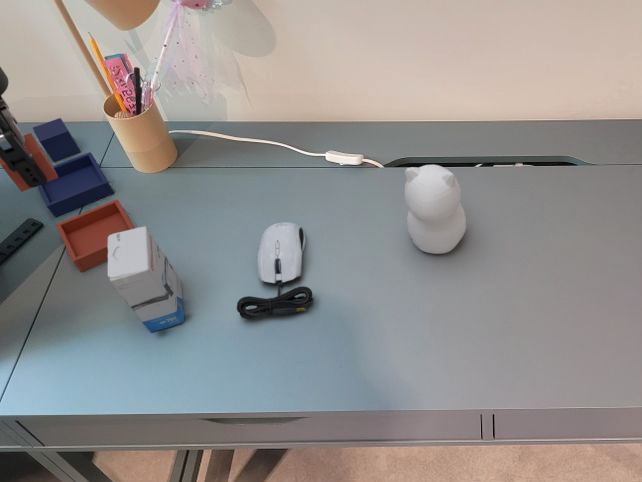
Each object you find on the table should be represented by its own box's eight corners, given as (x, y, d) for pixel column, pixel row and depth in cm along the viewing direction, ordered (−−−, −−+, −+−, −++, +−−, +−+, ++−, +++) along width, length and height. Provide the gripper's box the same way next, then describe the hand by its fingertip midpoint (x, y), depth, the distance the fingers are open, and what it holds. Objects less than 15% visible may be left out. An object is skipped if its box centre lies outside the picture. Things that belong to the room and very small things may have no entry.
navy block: (53, 162, 110) (39, 141, 106) (46, 148, 112) (32, 127, 108) (81, 151, 111) (67, 131, 108) (73, 138, 113) (60, 117, 110)
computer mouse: (315, 222, 102) (310, 204, 98) (314, 315, 90) (308, 298, 87) (251, 229, 100) (243, 211, 97) (241, 324, 89) (232, 307, 86)
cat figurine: (401, 260, 97) (389, 187, 85) (420, 202, 105) (411, 128, 93) (460, 267, 96) (455, 194, 84) (474, 208, 104) (472, 134, 92)
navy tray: (55, 217, 101) (46, 206, 100) (39, 185, 106) (31, 174, 104) (114, 193, 105) (107, 181, 103) (97, 163, 110) (90, 151, 108)
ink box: (185, 324, 89) (150, 270, 80) (147, 334, 88) (107, 281, 79) (181, 278, 94) (148, 223, 85) (145, 287, 93) (107, 232, 84)
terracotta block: (21, 192, 82) (0, 165, 79) (13, 172, 84) (-8, 146, 81) (58, 178, 84) (40, 151, 80) (49, 159, 86) (30, 132, 82)
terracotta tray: (81, 272, 95) (72, 261, 93) (63, 235, 99) (55, 224, 97) (143, 244, 98) (137, 233, 96) (124, 210, 103) (117, 198, 101)
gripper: (-102, 37, 72) (-10, 155, 86) (-81, 100, 65) (16, 217, 79) (-28, 17, 75) (50, 133, 89) (0, 74, 68) (80, 191, 82)
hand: (33, 172), depth 84 cm, fingers closed on terracotta block, 4 cm apart
